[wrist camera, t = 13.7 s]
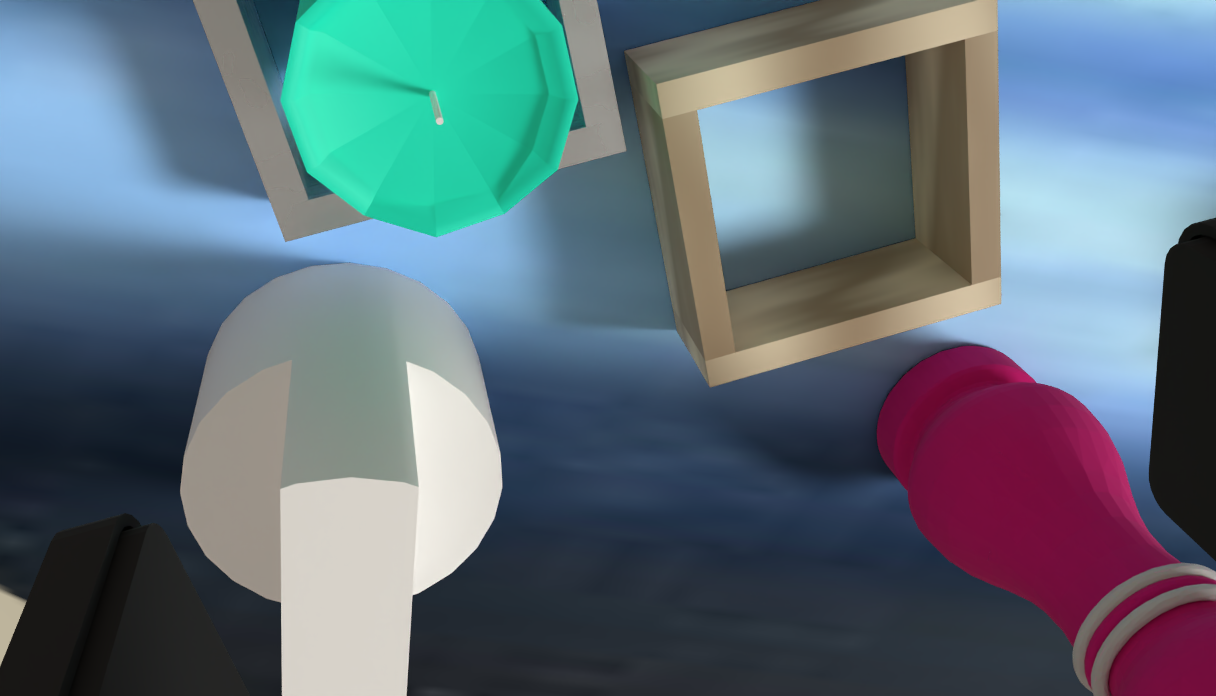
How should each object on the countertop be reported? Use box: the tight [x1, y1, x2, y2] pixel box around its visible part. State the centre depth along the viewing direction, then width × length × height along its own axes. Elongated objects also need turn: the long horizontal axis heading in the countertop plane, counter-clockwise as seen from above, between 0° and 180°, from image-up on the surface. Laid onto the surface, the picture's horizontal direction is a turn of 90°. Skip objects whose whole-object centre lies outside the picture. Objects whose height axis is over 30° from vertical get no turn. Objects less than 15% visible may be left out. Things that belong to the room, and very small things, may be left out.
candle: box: [280, 0, 578, 237], centre depth 26 cm, size 6×6×12 cm
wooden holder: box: [193, 0, 626, 242], centre depth 30 cm, size 10×10×3 cm
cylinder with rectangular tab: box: [180, 263, 502, 696], centre depth 31 cm, size 9×9×12 cm
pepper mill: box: [877, 346, 1216, 696], centre depth 34 cm, size 7×7×20 cm
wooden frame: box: [624, 0, 1001, 387], centre depth 34 cm, size 10×10×4 cm
